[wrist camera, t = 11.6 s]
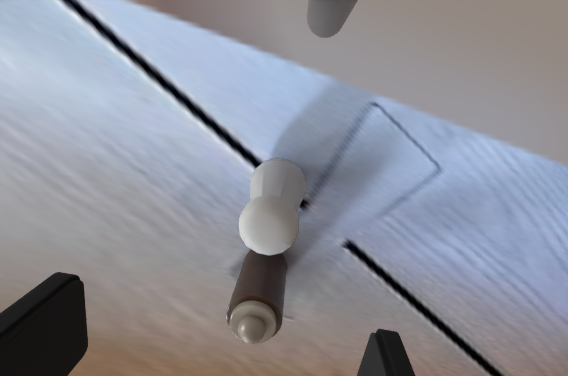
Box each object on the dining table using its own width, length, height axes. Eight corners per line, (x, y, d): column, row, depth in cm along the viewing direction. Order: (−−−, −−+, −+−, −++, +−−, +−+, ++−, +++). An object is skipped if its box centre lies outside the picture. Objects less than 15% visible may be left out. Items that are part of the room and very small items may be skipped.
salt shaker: (261, 209, 33) (238, 276, 21) (247, 161, 32) (212, 203, 19) (311, 197, 33) (318, 260, 20) (299, 148, 31) (298, 183, 19)
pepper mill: (247, 242, 35) (222, 309, 24) (290, 250, 35) (285, 320, 24) (241, 279, 36) (216, 357, 25) (282, 286, 36) (275, 368, 25)
